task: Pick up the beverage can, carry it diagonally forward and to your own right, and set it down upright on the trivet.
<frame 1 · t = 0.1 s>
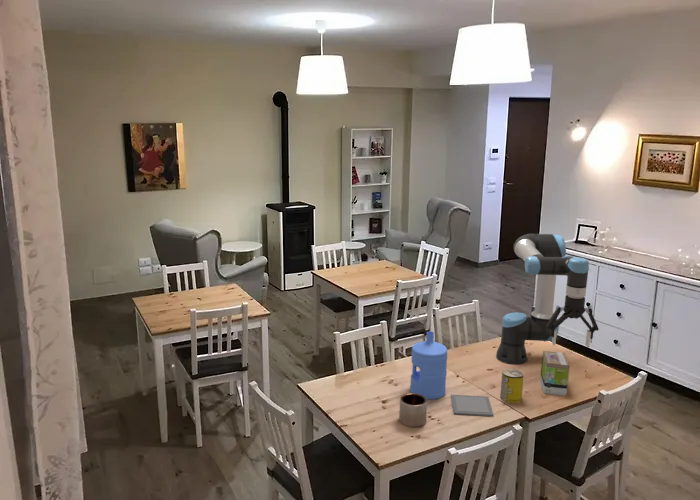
hand: (570, 345, 239), 28 cm above the table, fingers open, 13 cm apart
trivet: (471, 406, 245), on the table
tea box: (552, 387, 263), on the table
beverage can: (510, 398, 252), on the table
planter: (412, 421, 233), on the table
water jug: (427, 392, 257), on the table
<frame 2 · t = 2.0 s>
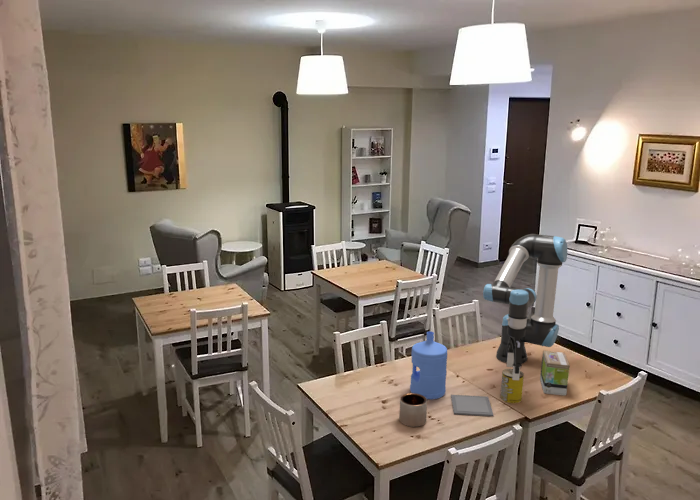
hand: (512, 373, 249), 12 cm above the table, fingers open, 13 cm apart
nothing on the table moved.
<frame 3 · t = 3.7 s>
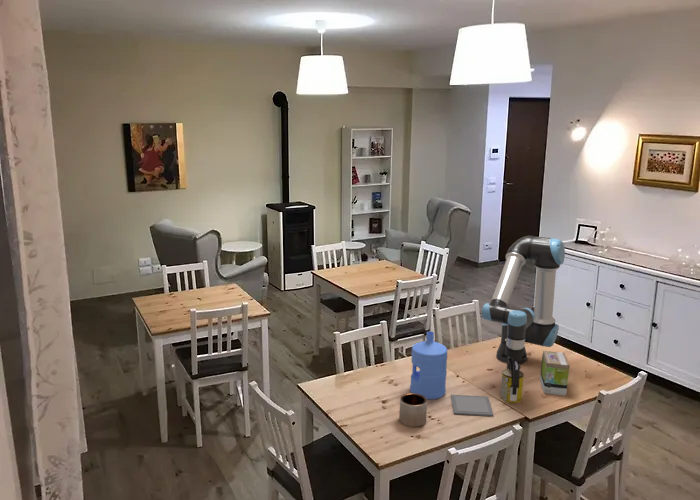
hand: (511, 395, 252), 1 cm above the table, fingers closed on beverage can, 9 cm apart
beverage can: (510, 398, 252), on the table, touching gripper
everything else where it was.
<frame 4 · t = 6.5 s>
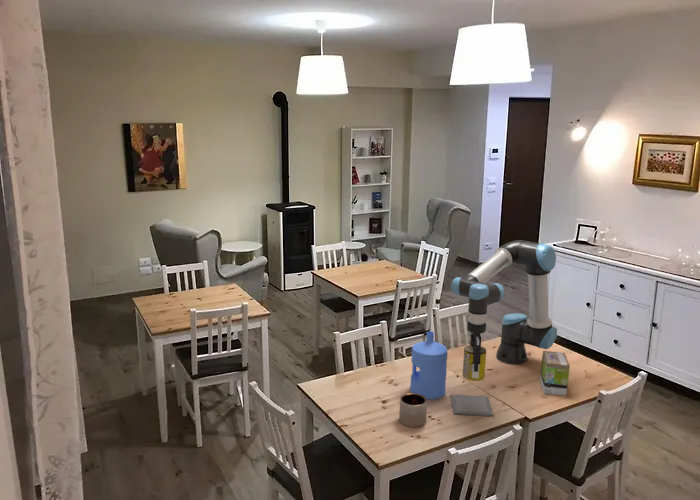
hand: (473, 372, 242), 15 cm above the table, fingers closed on beverage can, 9 cm apart
beverage can: (473, 376, 242), point 14 cm above the table, touching gripper
everything else where it was.
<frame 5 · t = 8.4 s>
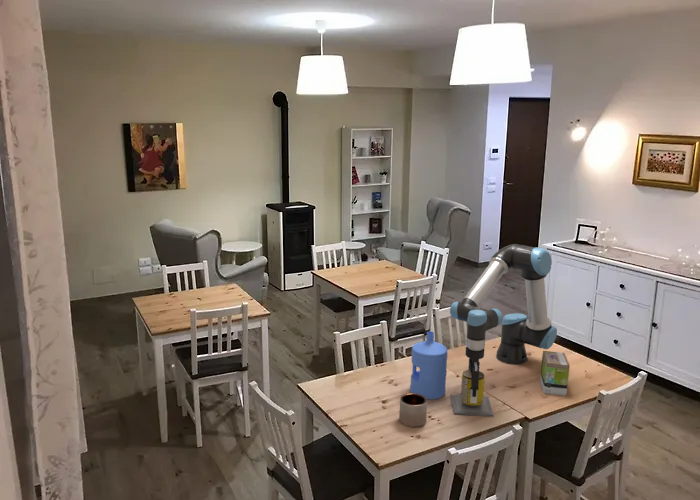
hand: (471, 397, 244), 4 cm above the table, fingers closed on beverage can, 9 cm apart
beverage can: (471, 400, 245), point 2 cm above the table, touching gripper
everything else where it was.
when the fingers open (3 cm above the table, at t = 9.5 s): beverage can stays where it is, resting on trivet.
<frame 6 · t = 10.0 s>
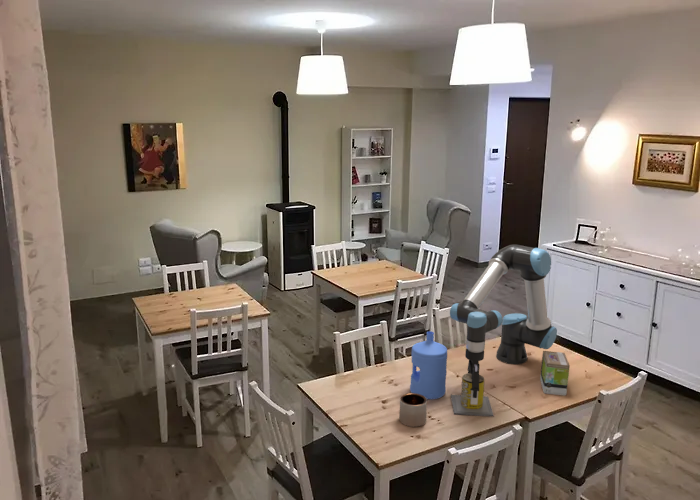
hand: (472, 396, 244), 4 cm above the table, fingers open, 13 cm apart
beverage can: (471, 404, 245), point 1 cm above the table, touching trivet
everything else where it was.
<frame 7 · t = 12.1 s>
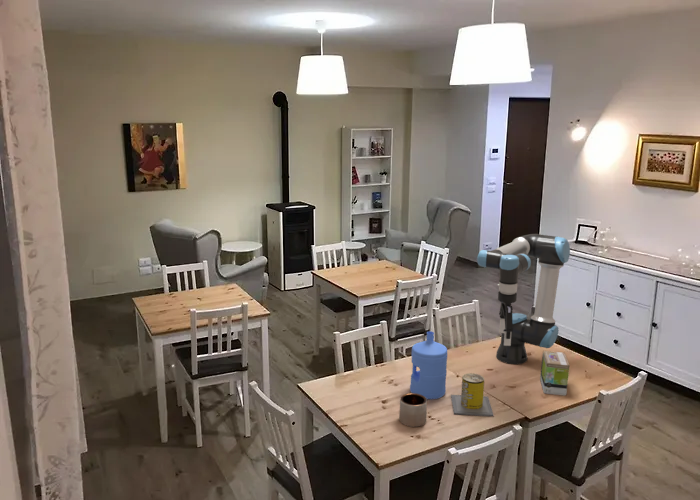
hand: (504, 338, 248), 27 cm above the table, fingers open, 13 cm apart
nothing on the table moved.
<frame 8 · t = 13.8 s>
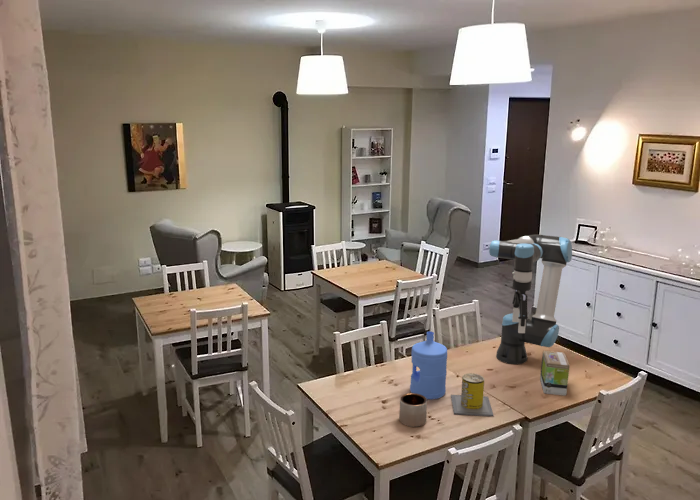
hand: (518, 327, 251), 31 cm above the table, fingers open, 13 cm apart
nothing on the table moved.
at the end: beverage can inside the target area on the trivet (0.1 cm from its centre), point 0.7 cm above the trivet's base; beverage can tilted 0°; the gripper is holding nothing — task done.
